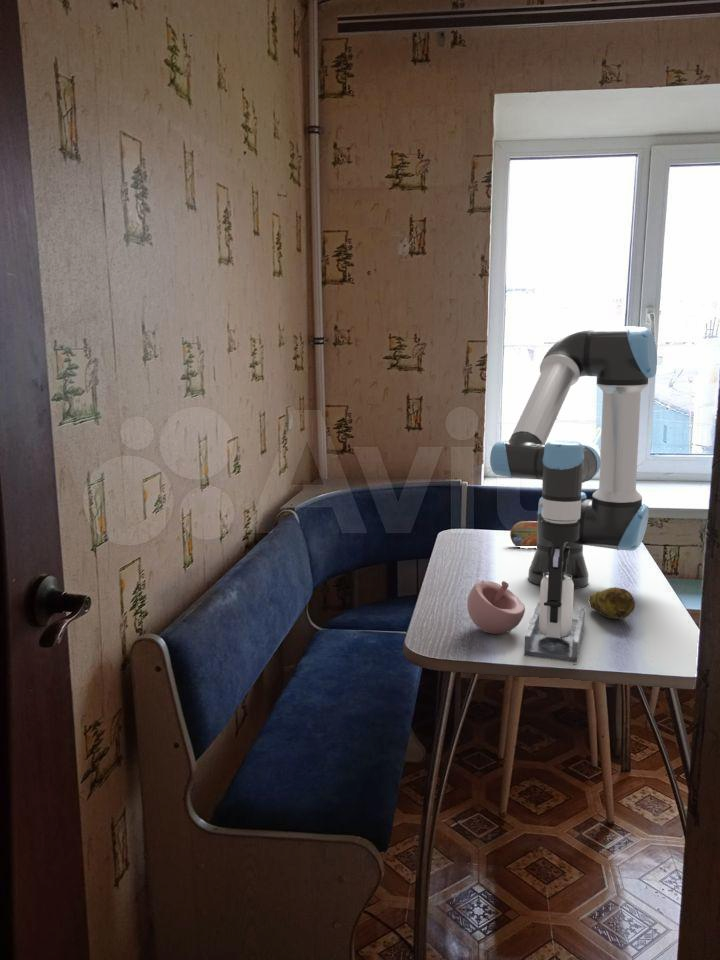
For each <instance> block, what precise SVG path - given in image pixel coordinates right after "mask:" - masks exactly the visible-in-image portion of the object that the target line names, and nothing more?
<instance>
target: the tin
mask: <svg viewBox="0 0 720 960" xmlns="http://www.w3.org/2000/svg"><path fill="white" fill-rule="evenodd" d="M537 523H538V520H537V521H531V520H528V521H527V520H526V521H525V520H524V521H523V520H521V521H519V522H517V523H515V524H514V525H513V526H512V527H511V530H510V533H509V534H510V535H509V537H510V539H511V542H512V543H513V545H514V546H515V547H516V546H537Z"/></svg>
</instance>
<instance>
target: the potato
mask: <svg viewBox="0 0 720 960" xmlns="http://www.w3.org/2000/svg"><path fill="white" fill-rule="evenodd" d="M588 603H589V606H590V607H591V609H592V610H594V611H595V612H596V613H599V614H602V615H603V616H604V617H606V618H609V619H613V620H616V619H617V620H619V619H626V618H627V617H629V616H630V615H631V614H632V613H633V611H635V607H636V601H635V598H634V597H633V594H631V593H630V592H629V590H627V589H625V588H620V587H609V588H606V589H603V590H601V591H596V592H593V593H592V594H591V595H590V596H589V598H588Z"/></svg>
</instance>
